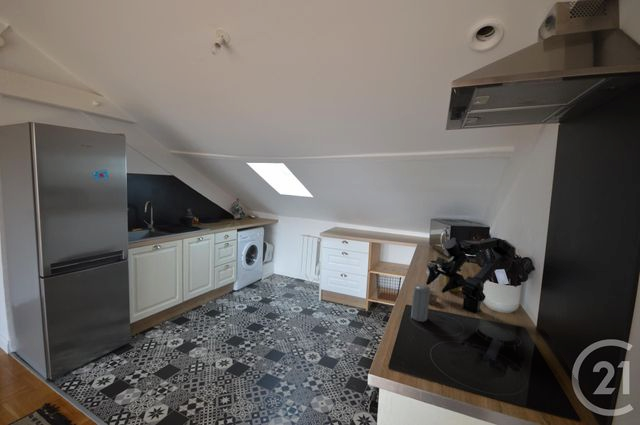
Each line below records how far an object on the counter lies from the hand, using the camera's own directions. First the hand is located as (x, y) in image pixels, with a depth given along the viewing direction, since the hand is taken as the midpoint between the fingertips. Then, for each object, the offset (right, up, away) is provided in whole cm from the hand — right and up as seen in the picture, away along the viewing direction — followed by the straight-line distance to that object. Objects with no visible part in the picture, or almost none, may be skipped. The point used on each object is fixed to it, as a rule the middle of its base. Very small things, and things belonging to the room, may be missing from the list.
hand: (434, 288), depth 126 cm
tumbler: (-7, -13, -1) cm, 15 cm away
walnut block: (+5, -12, +17) cm, 21 cm away
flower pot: (+24, -11, +35) cm, 44 cm away
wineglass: (+10, -11, +27) cm, 31 cm away
